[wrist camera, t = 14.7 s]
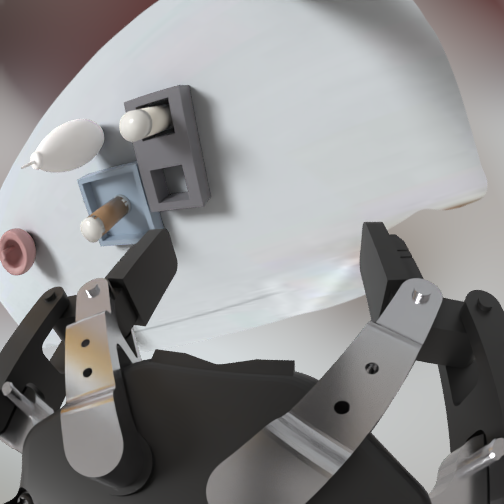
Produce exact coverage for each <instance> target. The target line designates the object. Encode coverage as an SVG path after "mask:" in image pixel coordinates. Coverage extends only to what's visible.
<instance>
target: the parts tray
mask: <svg viewBox="0 0 504 504" xmlns="http://www.w3.org/2000/svg"><path fill="white" fill-rule="evenodd" d="M77 181H78V184H79V188H80V191H81V194H82V197H83V200H84V203H85V206H86V208H87V211H88V214H89V216H90V215H91V214H92V213H93V212H95V211H96V210H97V209H99V208H100V207H101V206H103V205H104V204H105V203H107V202H108V201H109V200H111V199H112V198H114V197H115V196H116V195H119V194H122V195H124V196H126V197H127V198H128V199H129V201H130V203H131V210H130V212H129V213H128V214H127V215H126V216H125V217H123V218H122V219H121V220H120V221H119V222H118V223H117V224H115V225H114V226H113V227H112V228H111V229H110V230H109V231H108V232H107V233H106V234H104V235H103V236H102V237H101V238H100V239H99V243H100V245H101V246H111V245H125V244H136V243H138V241H139V240H140V239H141V238H142V237H143V236H144V235H145V234H146V232H147V231H148V230H151V229H164V226H163V222H162V219H161V216H160V212H159V211H158V212H151V210H150V206H149V203H148V199H147V196H146V192H145V189H144V185H143V182H142V178H141V174H140V171H139V167H138V163H137V161H135V162H131V163H127V164H123V165H119V166H115V167H112V168H108V169H104V170H101V171H97V172H94V173H90V174H87V175H85V176H83V177H82V178H80V179H78V180H77Z"/></svg>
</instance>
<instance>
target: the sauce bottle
mask: <svg viewBox="0 0 504 504" xmlns="http://www.w3.org/2000/svg"><path fill="white" fill-rule="evenodd" d="M103 143H104V133H103V130H102V128H101V127H100V126H99V125H98V124H97V123H96V122H94V121H92V120H88V119H76V120H72V121H69V122H66V123H64V124H62V125H60V126H59V127H57V128H56V129H54V130H53V131H52V132H51V133H49V134H48V135H47V136H46V137H45V138H44V139H43V141H42V142H41V143H40V144H39V146H38V148H37V149H36V151H35V152H34V153H33V154H32V155H31V158H30V162H29V163H27V164H26V165H24V166H23V167H21V169H23V168H26V167H28V166H30V165H32V167H33V168H34V169H35V170H39V169H41V170H43V171H46V172H67V171H71V170H74V169H77V168H79V167H81V166H83V165H85V164H86V163H88V162H89V161H91V160H92V159H93V158H94V157H95V156H96V155H97V153H98V152H99V151H100V149H101V147H102V145H103Z"/></svg>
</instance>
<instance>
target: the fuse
mask: <svg viewBox="0 0 504 504" xmlns="http://www.w3.org/2000/svg"><path fill="white" fill-rule="evenodd" d="M172 127H174V125H173V120H172V115H171V110H170V105H169V104H165V105H159V106H153V107H148V108H142V109H137V110H133V111H129V112H127V113H125V114H124V115H123V116H122V118H121V120H120V124H119V129H120V133H121V135H122V136H123V138H124V139H126V140H127V141H130V142H135V141H138V140H141V139H143V138H146V137H148V136H151V135H154V134H156V133H159V132H162V131H165V130H167V129H170V128H172Z"/></svg>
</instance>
